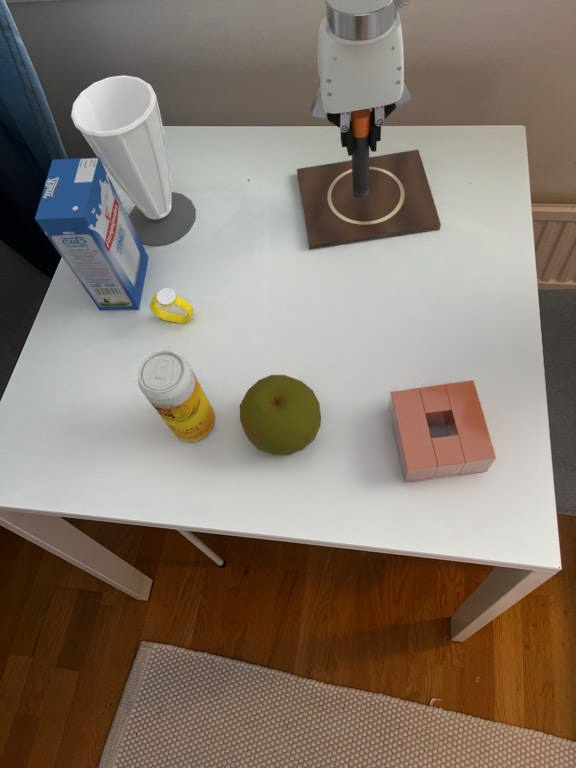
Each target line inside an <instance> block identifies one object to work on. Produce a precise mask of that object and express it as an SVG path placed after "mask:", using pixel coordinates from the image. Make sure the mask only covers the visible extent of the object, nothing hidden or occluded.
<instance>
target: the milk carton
mask: <svg viewBox="0 0 576 768" xmlns="http://www.w3.org/2000/svg"><path fill="white" fill-rule="evenodd" d="M128 216H129V215H128V213H127V211H126V208H125V206H124V205H123V203H122V201H121V199H120V196H119V195H118V192H117V190H116V188H115V186H114V184H113V183H112V181H111V179H110V177H109V174H108V171H107V169H106V168H105V166H104V165H103V164H102V162H101V160H100V158H99V157H97V156H95V157H78V158H59V159H58V158H57V159H52V161H51V164H50V167H49V170H48V173H47V177H46V180H45V184H44V186H43V190H42V193H41V197H40V201H39V203H38V207H37V210H36V214H35V217H34V220H35V221H36V223H37V224H38V225H39V227H40V228H41V230H42V231H43V233H44V234H45V235H46V237H47V238H48V240H49V241H50V242H51V244H52V245H53V246H54V248H55V250H56V251H57V252H58V254H59V255H60V257H61V258H62V259H63V261H64V262H65V263H66V265H67V267H68V268H69V269H70V271H71V272H72V273H73V275H74V277H75V278H76V279H77V281H78V283H80V285H81V286H82V288H83V289H84V291H85V292H86V294H87V295H88V296H89V298H90V299H91V300H92V303H94V305H95V306H96V308H97V309H98V311H134V310H135V311H136V310H140V308H141V302H142V297H143V291H144V286H145V280H146V274H147V268H148V264H149V254H148V253H147V251H146V249H145V247H144V244H142V243H141V241H140V239H139V237H138V235H137V233H136V231H135V229H134V227H133V225H132V223H131V221H130V219H129V217H128Z"/></svg>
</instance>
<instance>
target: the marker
mask: <svg viewBox="0 0 576 768" xmlns="http://www.w3.org/2000/svg"><path fill="white" fill-rule="evenodd" d="M370 112H371V110H370V108H368V109H362V110H356V111H350V120H351V126H352V129H353V144H354V154H352V156H351V160H352V185H353V195H354V196H355V197H356V198H364V197H366V196H367V195H368V193H369V157H370V146H369V139H370Z"/></svg>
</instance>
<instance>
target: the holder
mask: <svg viewBox="0 0 576 768" xmlns="http://www.w3.org/2000/svg"><path fill="white" fill-rule="evenodd" d="M388 403H389V404H388V412H389V416H390V421H391V425H392V426H391V427H392V431H393V435H394V441H395V445H396V449H397V454H398V460H399V464H400V469H401V474H402V478H403V483H404V484H405V483H413V482H420V481H428V480H433V479H441V478H449V477H456V476H463V475H464V476H465V475H472V474H479V473H485V472H488V471H489V470H490V468H491V467H492V465H493V463H494V462H495V461H496V459H497V457H496V453H495V449H494V446H493V443H492V439H491V436H490V432H489V429H488V425H487V421H486V419H485V415H484V412H483V409H482V404H481V401H480V398H479V394H478V390H477V388H476V383H475V380H474V379H471V380H464V381H458V382H457V381H456V382H449V383H444V384H443V383H442V384H437V385H430V386H422V387H415V388H409V389H401V390H394V391H390V396H389V402H388ZM443 426H445V427H446V431H447V435H446V436H445V435H444V436H439V437H432V436H431V432H430V428H435V427H443Z"/></svg>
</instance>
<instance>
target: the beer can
mask: <svg viewBox="0 0 576 768" xmlns="http://www.w3.org/2000/svg"><path fill="white" fill-rule="evenodd" d="M137 384H138V387H139V390H140V391H141V393H142V394H143V396H144V397H145V398H146V399H147V401H148V402H149V403H150V404H151V406H152V407H153V408H154V410H155V411H156V412H157V414H158V415H159V417H160V418H161V419H162V420H163V422H164V423H165V424H166V426H167V427H168V428H169V429H170V431H171V432H172V434H173V435H174V436H175V437H176V438H177V439H179V440H181V441H183V442H190V443H191V442H198V441H200V440H202V439H204V438H205V437H207V436H208V435H209V434H210V433H211V431H213V428H214V427H215V424H216V423H215V422H216V414H215V411H214V408H213V407H212V405H211V402H210V401H209V399H208V397H207V394H206V393H205V391H204V390H203V388H202V386H201V384H200V382H199V380H198V379H197V377H196V374H195V373H194V371H193V369H192V368H191V365H190V364H189V362H188V360H187V359H186V358H185V357H184V356H182V355H181V354H179V353H177V352H174V351H171V350H159V351H156V352H153V353H151V354H150V355H148V356H147V357H146V358H144V360H143V361H142V362H141V364H140V366H139V369H138V373H137Z"/></svg>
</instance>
